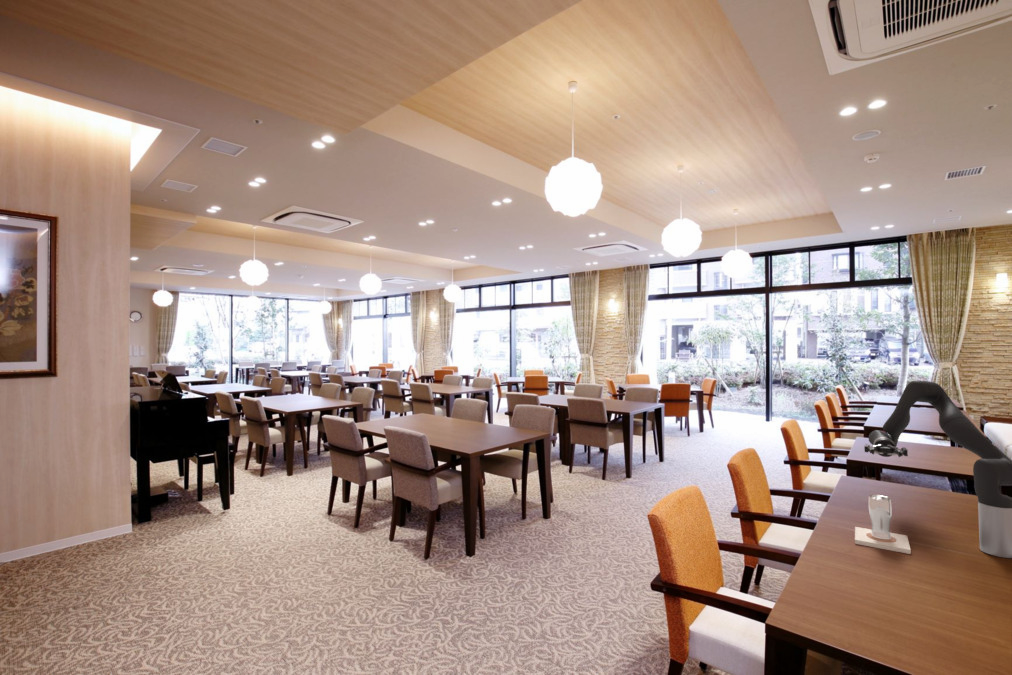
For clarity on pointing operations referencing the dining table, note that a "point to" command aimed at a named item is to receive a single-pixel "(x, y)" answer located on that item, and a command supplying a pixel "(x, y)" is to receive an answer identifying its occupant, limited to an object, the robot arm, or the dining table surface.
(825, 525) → the dining table surface
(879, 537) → the shiny silver metal cup
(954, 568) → the dining table surface
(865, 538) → the ceramic tile
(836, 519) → the dining table surface
